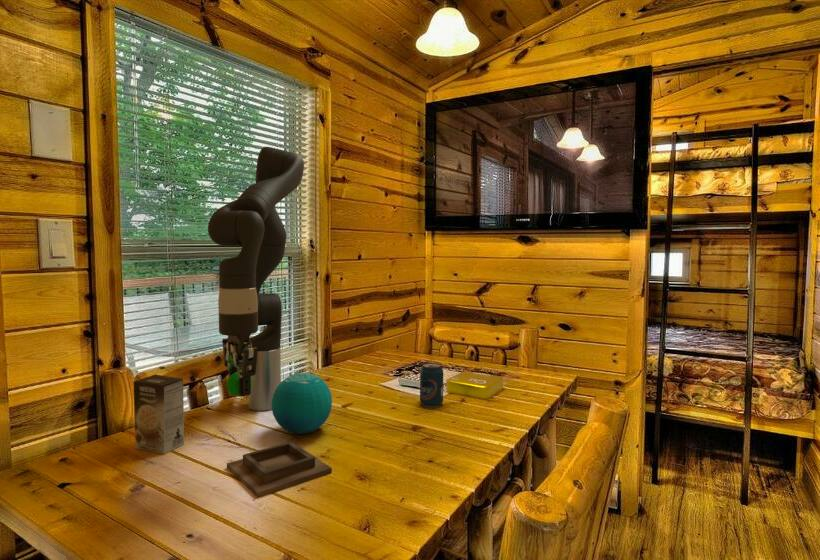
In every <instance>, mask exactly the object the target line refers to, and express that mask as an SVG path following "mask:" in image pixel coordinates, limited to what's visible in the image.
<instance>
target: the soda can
mask: <svg viewBox="0 0 820 560" xmlns="http://www.w3.org/2000/svg"><path fill="white" fill-rule="evenodd" d="M421 365H422V366H421V368H420V369H419V371H420V373H419V401H420V403H421V405H422V406H423V407H426V408H438V407H440V406H442V404H443V402H444V369H443V367H442V364H441V363H438V362H425V363H423V364H421Z"/></svg>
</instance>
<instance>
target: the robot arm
mask: <svg viewBox="0 0 820 560" xmlns="http://www.w3.org/2000/svg"><path fill="white" fill-rule="evenodd" d="M304 170H305V161H304V159H303V157H302V156H301V155H299V154H297V153H295V152H292V151H288V150H284V149H280V148H276V147H271V146H264V147H262V148H261V149H260V151H259V152H258V156H257V162H256V169H255V182H254V183H253V184H251V185H249V186H247V188H246V189H244V191H242V193H241V194H240V195H239V196H238V198H237V199H235V200H232V201H231V202H230V201H229V202H227V204H225V205H223V206H221V207H220V208H218V209H217V210H215V211H214V212H213V214H212V215H211V217H210V218H209V220H208V224H207V233H208V236H209V238H210V240H211V241H212V242H214V244H216V245H218V246H224V247H241V250H240V251H239V253H238V254H237V256H232V257H228V258H225V259H222V260H221V261H220V262H219V263H218V282H219V283H218V286H219V288H218V289H219V291H218V299H217V300H218V301H217V303H218V304H217V306H218V309H217V310H218V332H219V334H221V335H222V336H227V338H226V337H225V338H222V340H221V343H222V351H223V352H222V353H223V364H224V367H226V370H227V372H228V378H229V377H230V375H232V374H233V373H235V372H238V377H239V378H238V379H239V395H240V396H241V397H248V405H247V406H248V409H250V410H252V411H258V412H259V411H270V410H271V411H272V398H273V395H274V392H275V390H276V389H277V387H278V385H279V384H280V383H281V382H282V377H281V376H282V371H281V370H282V369H281V367H282V366H281V365H282V363H281V362H282V361H281V360H282V358H281V340H282V318H283V317H282V314H283V313H282V312H283V306H282V299H281V298H280V296H279V294H278V293H275V292H267V293H266V292H265V293H260V292H261V289H262V287H263V285H264V283H265V282H266V280H267V279H268V278H269V276H270V275H271V274H273V272H274V271H275V270H276V269H277V267H278V266H279V265H280V264H281V262H282V260H283V258H284V256H285V250H286V244H287V230H286V228H285V225H284V223H283V221H282V219H281V217H280V214H279V213H278V210H277V208H276V207H275V206H277V204H279V203H280V202H281V201H283V199H285V198H286V197H287V196H288V195H290V194H291V193H293V192H294V191H295V190H296V189H297V188H298V186H299V185H300V184H301V181H302V178H303V175H304ZM259 326H260V327H261V326H265V328H264V329H263V330H262V331H260V332H259V333H258V334H256V335H253V336H252V337H251V335H252V334H255V333H257V332H258V331H259ZM251 379H252V387H251Z"/></svg>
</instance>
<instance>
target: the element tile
mask: <svg viewBox="0 0 820 560" xmlns="http://www.w3.org/2000/svg"><path fill="white" fill-rule="evenodd" d="M503 379H504V378H503V376H501V375H494V374H487V373H481V372H476V371H475V372H474V371H469V370H465V371H462V372H460V373H457V374H455V375H453V376H451V377H449V378H447V379H446V381H445V382H446V383H445V385H446V386H445V387H446V388H445V389H446V390H445V392H446V393H449V394H453V395H458V396H464V397H469V398H475V399H481V400H487V399H488V400H489V399H490V398H492V397H494V396H495V395H496V394H499V392H501V391H503V389H504V380H503Z"/></svg>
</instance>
